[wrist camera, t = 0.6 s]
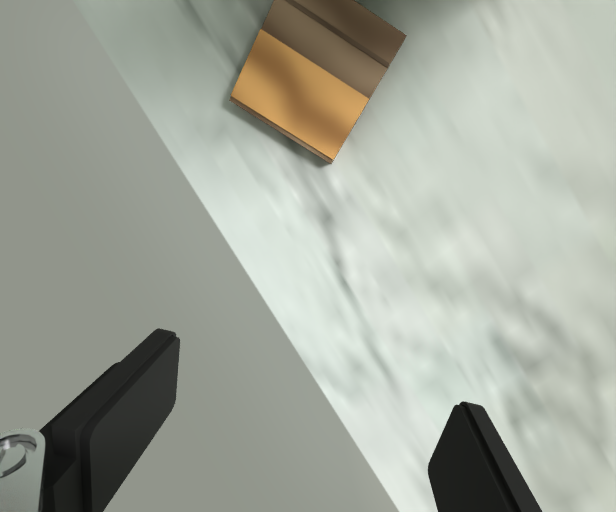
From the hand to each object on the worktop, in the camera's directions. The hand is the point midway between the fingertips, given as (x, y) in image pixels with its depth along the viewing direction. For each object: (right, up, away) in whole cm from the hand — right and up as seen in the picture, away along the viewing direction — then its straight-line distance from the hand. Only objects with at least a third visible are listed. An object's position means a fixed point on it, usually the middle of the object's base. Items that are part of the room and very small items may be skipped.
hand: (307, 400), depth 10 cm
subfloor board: (+1, +24, +23) cm, 34 cm away
